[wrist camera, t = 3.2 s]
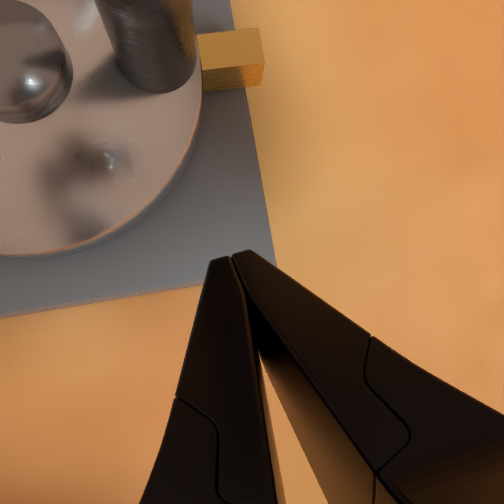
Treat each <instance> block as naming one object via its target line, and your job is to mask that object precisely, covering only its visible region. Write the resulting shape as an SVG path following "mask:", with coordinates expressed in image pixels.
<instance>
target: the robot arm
mask: <svg viewBox="0 0 504 504" xmlns="http://www.w3.org/2000/svg"><path fill="white" fill-rule="evenodd" d="M259 356H260V358H261V361H262V363H263V366H264V368H265V370H266V372H267V374H268V377H269V379H270V381H271V383H272V385H273V387H274V389H275V391H276V394H277V396H278V398H279V400H280V402H281V404H282V406H283V408H284V411H285V413H286V415H287V417H288V419H289V421H290V423H291V425H292V428H293V430H294V432H295V434H296V436H297V438H298V440H299V442H300V445H301V447H302V449H303V451H304V453H305V455H306V457H307V459H308V461H309V464H310V466H311V468H312V470H313V472H314V474H315V476H316V478H317V481H318V483H319V485H320V487H321V489H322V491H323V493H324V495H325V498H326V500H327V502H328V504H504V415H503V414H502V413H500V412H498V411H496V410H494V409H493V408H491V407H489V406H487V405H485V404H484V403H482V402H480V401H478V400H477V399H475V398H473V397H471V396H469V395H468V394H466V393H464V392H462V391H460V390H459V389H457V388H455V387H453V386H452V385H450V384H448V383H446V382H444V381H443V380H441V379H439V378H438V377H436V376H434V375H433V374H431V373H429V372H427V371H426V370H424V369H422V368H421V367H419V366H417V365H416V364H414V363H413V362H411V361H410V360H408V359H407V358H405V357H404V356H402V355H401V354H399V353H398V352H396V351H395V350H393V349H392V348H390V347H389V346H387V345H386V344H384V343H383V342H382V341H380V340H379V339H377V338H376V337H375V336H372V337H371V334H370V333H369V332H367V331H366V330H364V329H363V328H362V327H360V326H359V325H357V324H356V323H355V322H353V321H352V320H350V319H349V318H348V317H346V316H345V315H343V314H342V313H340V312H339V311H338V310H336V309H335V308H333V307H332V306H331V305H329V304H328V303H326V302H325V301H324V300H322V299H321V298H319V297H318V296H317V295H315V294H314V293H312V292H311V291H309V290H308V289H307V288H305V287H304V286H302V285H301V284H300V283H298V282H297V281H295V280H294V279H293V278H291V277H290V276H288V275H287V274H285V273H284V272H283V271H281V270H280V269H278V268H277V267H276V266H274V265H273V264H271V263H270V262H269V261H267V260H266V259H264V258H263V257H262V256H260V255H259V254H257V253H256V252H254V251H253V250H251V249H248V250H244V251H241V252H237V253H234V254H232V256H231V257H230V256H228V255H227V256H223V257H219V258H216V259H212V260H211V261H210V262H209V265H208V268H207V272H206V276H205V280H204V284H203V288H202V292H201V296H200V300H199V304H198V307H197V311H196V315H195V319H194V323H193V327H192V331H191V335H190V339H189V343H188V346H187V350H186V354H185V358H184V362H183V366H182V370H181V374H180V378H179V382H178V385H177V389H176V393H175V397H176V398H175V399H174V400H173V404H172V408H171V412H170V416H169V419H168V423H167V426H166V430H165V433H164V436H163V440H162V443H161V447H160V449H159V452H158V455H157V458H156V460H155V463H154V466H153V469H152V471H151V474H150V477H149V480H148V482H147V485H146V487H145V490H144V492H143V495H142V497H141V500H140V502H139V504H286V500H285V494H284V489H283V483H282V478H281V472H280V467H279V461H278V456H277V450H276V444H275V439H274V433H273V428H272V422H271V417H270V411H269V405H268V400H267V394H266V389H265V383H264V378H263V372H262V367H261V363H260V358H259Z"/></svg>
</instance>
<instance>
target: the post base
mask: <svg viewBox="0 0 504 504" xmlns="http://www.w3.org/2000/svg"><path fill="white" fill-rule="evenodd" d="M192 4H193V17H194V30H195V37H196V35H198V34H207V33H215V32H224V31H233V30H235V28H234V23H233V17H232V12H231V6H230V0H192ZM196 41H197V38H196ZM202 93H203V100H202V118H201V123H200V129H199V134H198V138H197V141H196V144H195V147H194V150H193V153H192V156H191V158H190V160H189V162H188V164H187V166H186V168H185V170H184V172H183V174H182V176H181V177H180V179H179V180H178V182H177V183H176V185H175V186H174V188H173V189H172V191H171V192H170V193H169V194H168V195H167V196H166V198H165V199H164V200H163V201H162V202H161V203H160V204H159V206H158V207H157V208H156V209H154V210H153V211H152V212H151V213H150V214H149V215H148V216H147V217H145V218H144V219H143V220H142V221H141V222H139V223H138V224H136V225H135V226H133V227H132V228H131V229H129V230H128V231H126V232H125V233H123V234H121V235H119V236H117V237H115V238H113V239H112V240H110V241H108V242H106V243H104V244H101V245H99V246H96V247H93V248H90V249H87V250H85V251H82V252H78V253H73V254H69V255H64V256H60V257H51V258H40V259H22V258H8V257H2V256H0V319H1V318H7V317H13V316H19V315H25V314H31V313H37V312H43V311H49V310H55V309H61V308H67V307H73V306H79V305H85V304H91V303H97V302H103V301H109V300H115V299H121V298H127V297H133V296H139V295H145V294H151V293H157V292H163V291H169V290H175V289H181V288H187V287H193V286H199V285H203V284H204V280H205V276H206V272H207V268H208V265H209V262H210V261H211V260H212V259H216V258H219V257H223V256H227V255H228V256H230V257H231V256H232V254H234V253H237V252H241V251H244V250H248V249H251V250H253V251H254V252H256V253H257V254H259V255H260V256H262V257H263V258H264V259H266V260H267V261H269V262H270V263H271V264H273V265H274V266H276V267H277V265H276V259H275V254H274V248H273V242H272V237H271V231H270V225H269V220H268V214H267V209H266V203H265V197H264V192H263V186H262V180H261V175H260V169H259V164H258V158H257V152H256V147H255V141H254V135H253V130H252V124H251V118H250V113H249V107H248V102H247V96H246V90H245V87H242V88H234V89H227V90H219V91H211V92H203V86H202Z"/></svg>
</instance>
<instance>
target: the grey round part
mask: <svg viewBox="0 0 504 504" xmlns="http://www.w3.org/2000/svg"><path fill="white" fill-rule="evenodd" d="M196 38H197V41H196ZM264 64H265V61H264V56H263V50H262V45H261V40H260V34H259V29H258V28H251V29H242V30H233V31H224V32H215V33H207V34H198V35H196V37H195V30H194V17H193V4H192V0H0V256H2V257H8V258H22V259H40V258H51V257H60V256H64V255H69V254H73V253H78V252H82V251H85V250H87V249H90V248H93V247H96V246H99V245H101V244H104V243H106V242H108V241H110V240H112V239H113V238H115V237H117V236H119V235H121V234H123V233H125V232H126V231H128V230H129V229H131V228H132V227H133V226H135V225H136V224H138V223H139V222H141V221H142V220H143V219H144V218H145V217H147V216H148V215H149V214H150V213H151V212H152V211H153V210H154V209H156V208H157V207H158V206H159V204H160V203H161V202H162V201H163V200H164V199H165V198H166V196H167V195H168V194H169V193H170V192H171V191H172V189H173V188H174V186H175V185H176V183H177V182H178V180H179V179H180V177H181V176H182V174H183V172H184V170H185V168H186V166H187V164H188V162H189V160H190V158H191V156H192V153H193V150H194V147H195V144H196V141H197V138H198V134H199V129H200V123H201V118H202V100H203V93H202V86H203V92H211V91H219V90H227V89H234V88H242V87H250V86H258V85H260V84H261V79H262V74H263V69H264Z"/></svg>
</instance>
